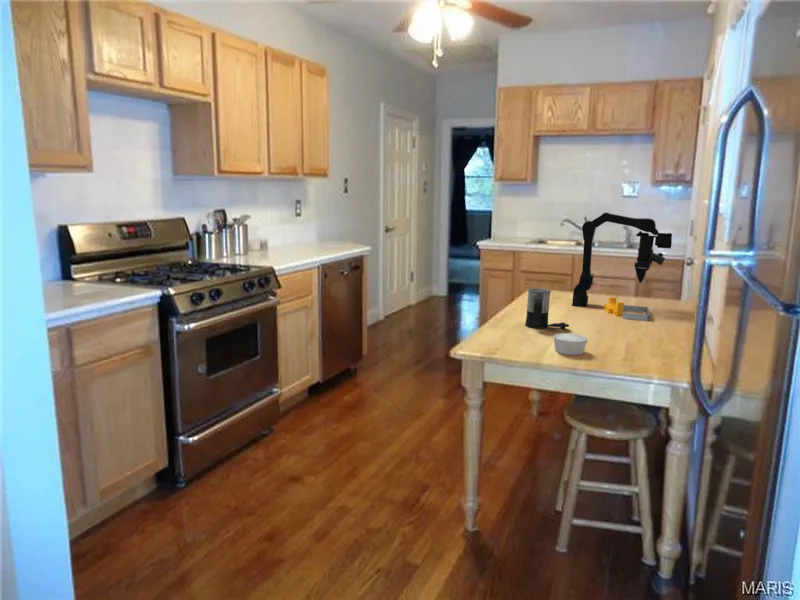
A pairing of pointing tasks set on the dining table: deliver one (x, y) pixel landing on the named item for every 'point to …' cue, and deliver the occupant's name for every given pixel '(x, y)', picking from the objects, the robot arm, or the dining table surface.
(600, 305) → the dining table surface
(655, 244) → the robot arm
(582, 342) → the ramekin
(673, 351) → the dining table surface
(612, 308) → the pipe clamp
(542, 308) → the milk frother
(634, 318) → the rail bay
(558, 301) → the dining table surface
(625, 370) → the dining table surface
